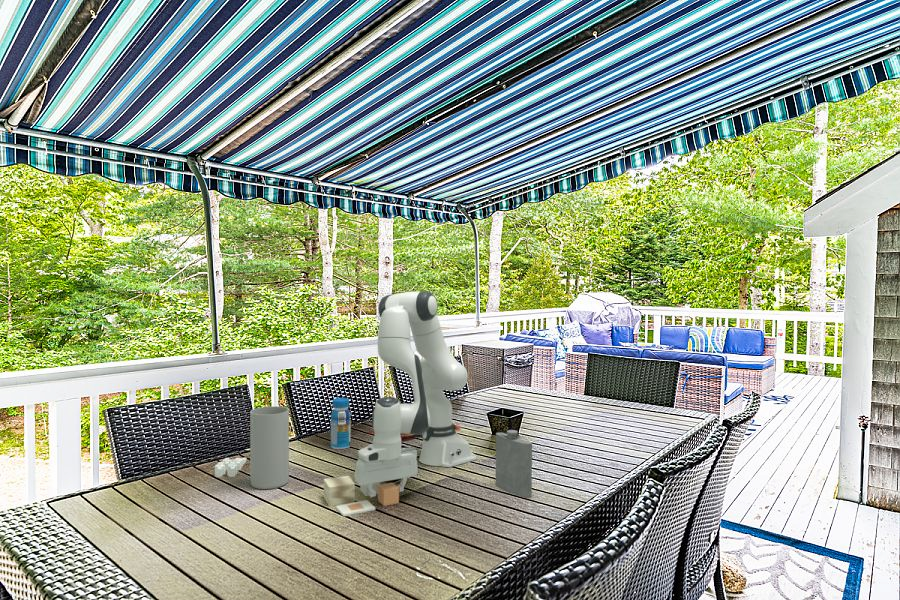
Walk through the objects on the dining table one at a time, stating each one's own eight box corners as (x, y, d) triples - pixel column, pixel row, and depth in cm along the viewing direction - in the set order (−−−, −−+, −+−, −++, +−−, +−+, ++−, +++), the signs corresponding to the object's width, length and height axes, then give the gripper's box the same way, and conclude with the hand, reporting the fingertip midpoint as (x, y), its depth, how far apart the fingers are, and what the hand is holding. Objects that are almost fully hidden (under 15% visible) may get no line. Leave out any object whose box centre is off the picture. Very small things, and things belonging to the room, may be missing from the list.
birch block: (348, 493, 181) (348, 475, 181) (354, 502, 174) (354, 483, 174) (323, 497, 178) (323, 478, 178) (329, 506, 170) (329, 487, 170)
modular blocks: (233, 477, 195) (233, 466, 195) (213, 478, 195) (213, 466, 195) (249, 460, 215) (249, 449, 215) (231, 460, 214) (231, 450, 214)
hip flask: (533, 496, 180) (534, 435, 179) (524, 499, 177) (525, 437, 177) (500, 481, 192) (501, 424, 192) (491, 484, 190) (492, 426, 189)
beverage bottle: (326, 448, 230) (326, 400, 229) (337, 442, 237) (337, 396, 237) (343, 450, 226) (343, 402, 226) (354, 445, 234) (354, 398, 234)
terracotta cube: (392, 497, 178) (392, 482, 178) (398, 503, 173) (398, 487, 173) (377, 500, 175) (377, 485, 175) (384, 506, 171) (384, 490, 171)
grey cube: (374, 488, 185) (374, 473, 185) (380, 493, 181) (380, 478, 181) (360, 491, 183) (360, 476, 183) (365, 496, 179) (366, 481, 179)
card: (366, 501, 174) (366, 499, 174) (375, 509, 168) (375, 507, 168) (335, 508, 169) (335, 505, 169) (343, 516, 163) (343, 514, 163)
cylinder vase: (253, 492, 181) (253, 416, 180) (248, 480, 192) (247, 408, 191) (292, 486, 187) (292, 412, 186) (285, 474, 198) (285, 405, 197)
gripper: (412, 443, 182) (412, 485, 182) (353, 451, 172) (352, 496, 172) (421, 448, 176) (420, 491, 177) (360, 457, 166) (359, 503, 166)
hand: (386, 493), depth 174 cm, fingers open, 8 cm apart
